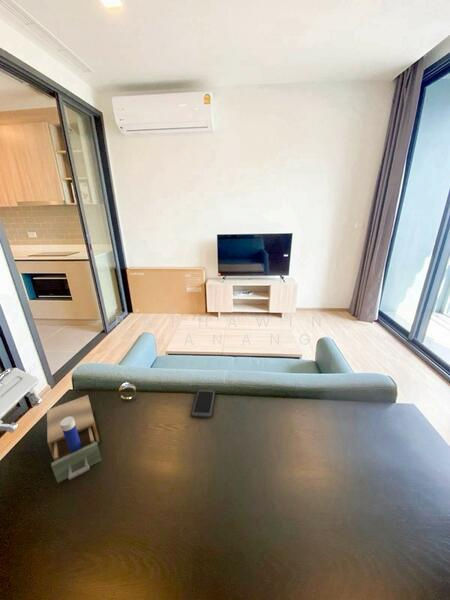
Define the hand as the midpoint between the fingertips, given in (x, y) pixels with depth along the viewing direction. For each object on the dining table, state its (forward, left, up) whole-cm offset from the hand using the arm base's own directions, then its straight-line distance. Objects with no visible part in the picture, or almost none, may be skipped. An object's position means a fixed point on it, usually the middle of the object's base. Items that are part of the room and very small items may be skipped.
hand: (28, 415), depth 69 cm
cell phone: (+52, -8, -19) cm, 56 cm away
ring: (+28, +12, -19) cm, 36 cm away
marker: (+8, -6, -16) cm, 19 cm away
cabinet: (+8, +5, -18) cm, 21 cm away
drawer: (+8, -6, -18) cm, 20 cm away
